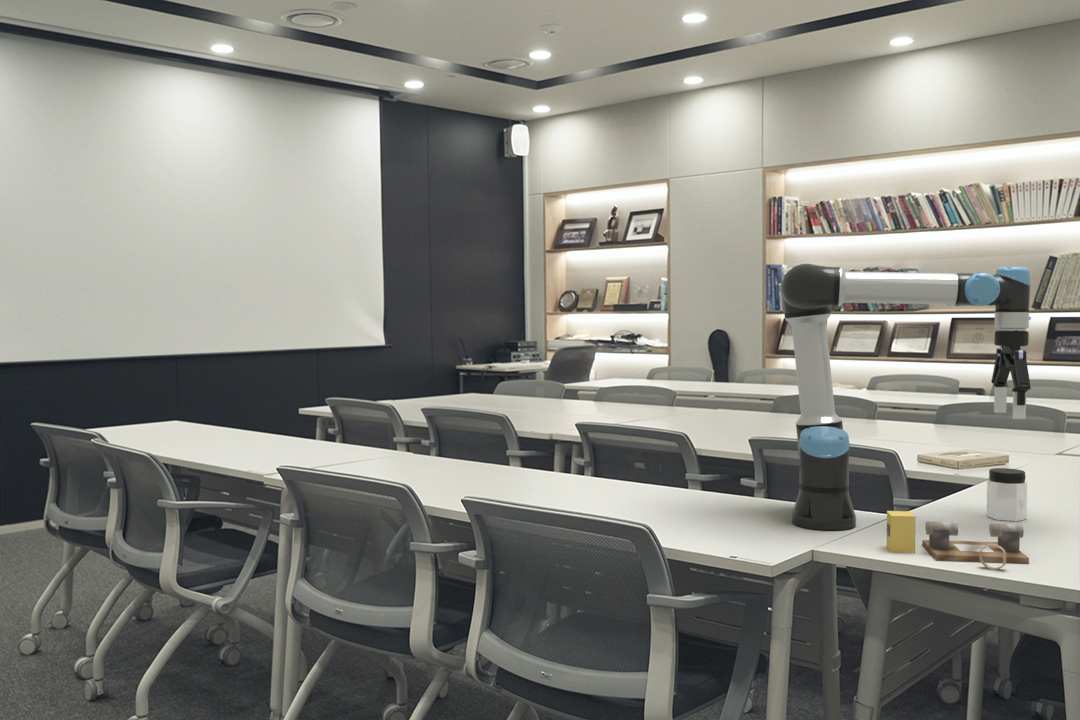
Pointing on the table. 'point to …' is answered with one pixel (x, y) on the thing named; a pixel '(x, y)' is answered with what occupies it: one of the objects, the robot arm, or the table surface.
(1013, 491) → the jar
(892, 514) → the yellow rectangular block
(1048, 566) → the table surface
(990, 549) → the shaft base
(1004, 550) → the rose gold watch bracelet
